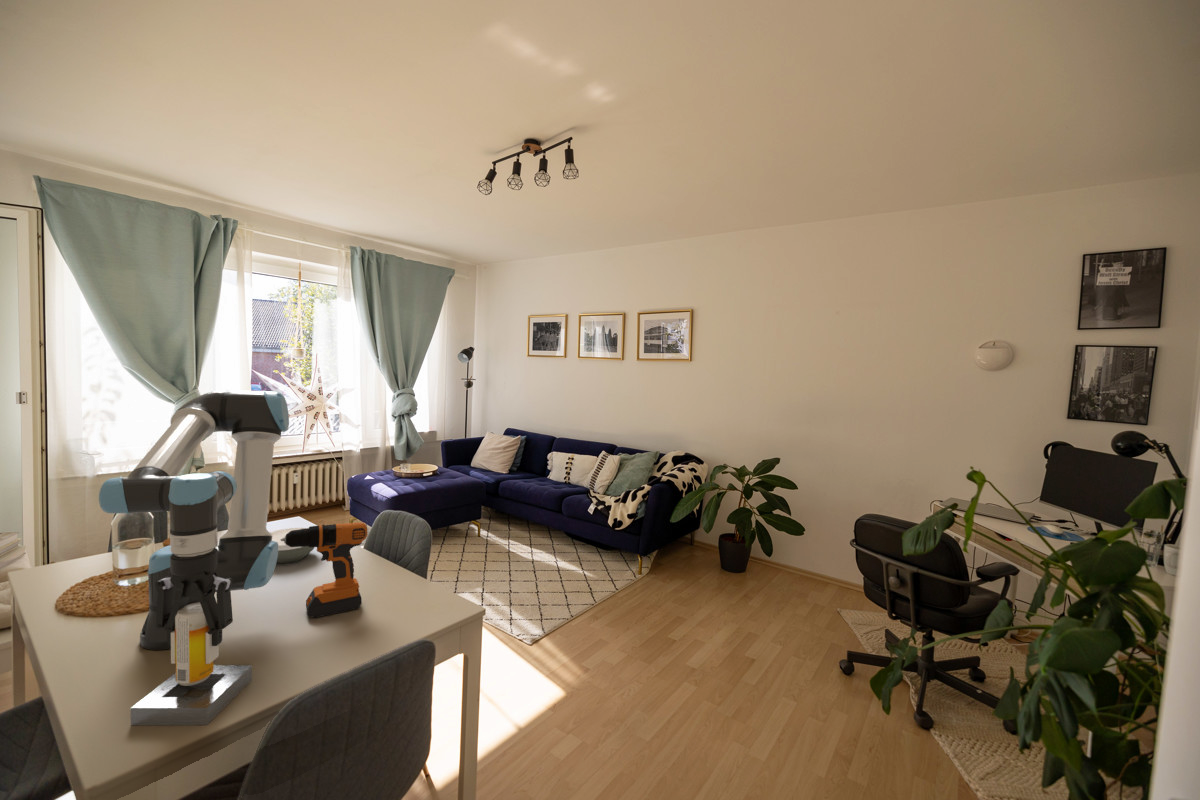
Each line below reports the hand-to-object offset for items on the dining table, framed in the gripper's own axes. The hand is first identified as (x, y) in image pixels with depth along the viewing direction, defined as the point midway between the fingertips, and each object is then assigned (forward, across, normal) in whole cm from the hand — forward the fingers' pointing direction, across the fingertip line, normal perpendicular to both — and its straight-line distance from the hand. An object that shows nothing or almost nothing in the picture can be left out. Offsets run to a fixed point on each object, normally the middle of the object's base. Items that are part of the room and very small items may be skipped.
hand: (195, 659), depth 104 cm
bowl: (+9, -22, +77) cm, 81 cm away
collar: (+9, 0, 0) cm, 9 cm away
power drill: (+9, +8, +39) cm, 41 cm away
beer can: (+4, 0, 0) cm, 4 cm away
